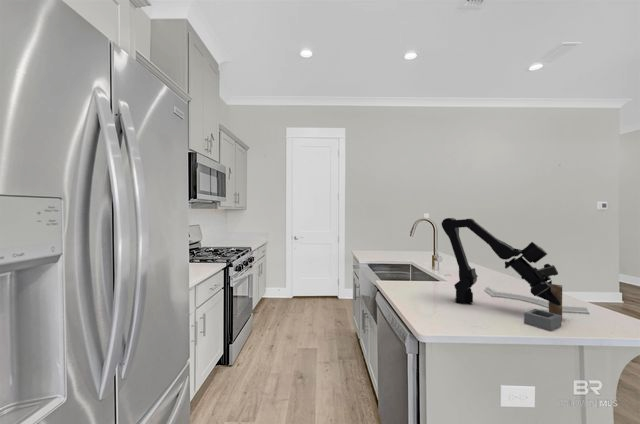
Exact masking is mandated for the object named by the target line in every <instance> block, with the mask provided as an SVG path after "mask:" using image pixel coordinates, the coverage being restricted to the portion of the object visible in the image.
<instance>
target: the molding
mask: <svg viewBox="0 0 640 424" xmlns="http://www.w3.org/2000/svg"><path fill="white" fill-rule="evenodd" d="M483 291H484V292H485V293H486V294H488V295H489V296H490V297H491V298H503V299H510V300H515V301H521V302H524V303H529V304H534V305H535V306H536V305H537V306H540V307H543V308H546V309H548V310H549V301H547V300H545V299H542V298H537V297H534V296H528V295H523V294H517V293H512V292H502V291H497V290H496V289H495V288H494V289H493V288H491V287H490V286H486V288H484V289H483ZM564 313H565V314H577V313H578V314H579V315H590V311H589V310H588V307H587V306H577V305H575V306H574V305H562V314H564Z"/></svg>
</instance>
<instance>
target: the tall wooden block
mask: <svg viewBox="0 0 640 424" xmlns="http://www.w3.org/2000/svg"><path fill="white" fill-rule="evenodd" d="M549 285H551V292H552V293H553V294H554V296H555V297H556V298H557V299H558V301H559V302H560V303H561V305H559V306H558V305H556V304H554V303H551V302H549V301H548V302H549V309H548V312H550V313H554V314H558V315H562V316H563V313H562V306H563V285H561V284H554V283H552V284H549Z"/></svg>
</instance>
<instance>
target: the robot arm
mask: <svg viewBox="0 0 640 424" xmlns="http://www.w3.org/2000/svg"><path fill="white" fill-rule="evenodd" d="M441 228H442V229H443V231H444V232H445V234H446V236H447V237H448V239H449V241H450V244H451V245H450V246H451V247H452V251H453V254H454V257H455V260H456V263H457V266H458V279H459V281H457V282H455V284H453V285H454V288H455V303H456V304H463V305H464V304H465V305H473V301H474V293H473V291H472V287H473V285H475V284H476V283H477V281H478V275H477V271H476V268H475V267H473V268H472V267H471V266H470V265H469V261H468V259H467V256H466V251H465V250H464V246H463V243H462V240H461V238H460V229H461V228H468V229H469V230H470V231H471V232H472V233H474V234H475V235H476V237H477V236H478V237H479V238H480V239H481V240H482V241H484V243H486V244H487V245H489V246H490V248H491V250H492V251H493V252H494V253H495V254H496V255H497V256H498V258H499V259H501V260H503V261H504V269H508V268H511V269H513V271H515V272H516V273H517V274H518V275H519V276H520V278H521V279H522V280H524V281H525V282H527V283H528V285H529V287H530V293H531V294H532V295H533V297H536V298H537V297H538V298H539V299H542V300H545V301H548V302H551V303H554V304H556V305H558V306H559V305H561V303H560V302H559V301H558V299H557V298H556V297H555V296H554V294H553V293H552V292H551V285H549V284H553V283H552V282H553V280H552V279H551V276H554V277H555V276H557V275H559V272H558V270H557V268H556V266H555V265H553V264H552V265H551V264H550V263H545V264H544V265H543V267H542V268H539V269H538V268H537V267H536V266H532V264H531V263H533V264H537V262H540V260H542V259H544V258H545V257H546V256H547V255H548V253H547V252H546V251H545V250H544V249H543V248H542V247H541V246H539V245H537V244H536V243H535V242H533V241H531V242H530V243H528V245H527V246H526V247H524V248H523V249H519V248H514V247H513V246H512V245H510V244H508V243H506V242H504V241H503V240H500V239H498V238H497V237H495V236H494V235H493V234H492V233H491V232H489V231H488V230H487V229H485V228H484V227H482V226H481V225H480V224H479V223H478V222H477V221H475V220H474V219H473V218H465V219H456V218H455V217H447V218H444V219H443V220H442V221H441ZM516 257H517V258H516ZM507 260H509V261H507Z"/></svg>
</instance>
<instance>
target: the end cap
mask: <svg viewBox="0 0 640 424" xmlns="http://www.w3.org/2000/svg"><path fill="white" fill-rule="evenodd" d="M562 322H563V314H562V315H558V314H554V313H550V312H549V311H546V310H542V309H539V308H533V309H531V310H527V311H525V312H523V323H524V324H526V325H528V326H532V327H536V328H539V329H542V330H546V331H549V332H552V331H554V330H557V329H559V328H561V327H562V326H563V325H562Z"/></svg>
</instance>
